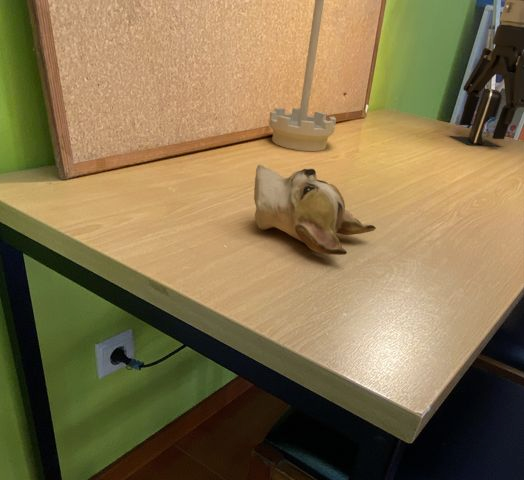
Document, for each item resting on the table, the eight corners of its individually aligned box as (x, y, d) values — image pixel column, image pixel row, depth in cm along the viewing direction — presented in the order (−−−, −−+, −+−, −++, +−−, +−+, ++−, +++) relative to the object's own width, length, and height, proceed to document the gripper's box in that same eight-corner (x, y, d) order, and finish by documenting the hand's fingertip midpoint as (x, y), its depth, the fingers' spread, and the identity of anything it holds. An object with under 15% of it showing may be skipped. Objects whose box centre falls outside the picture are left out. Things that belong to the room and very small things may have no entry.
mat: (499, 146, 121) (500, 146, 121) (468, 145, 118) (468, 144, 118) (479, 137, 127) (479, 137, 127) (449, 136, 125) (449, 135, 125)
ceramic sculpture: (281, 143, 63) (392, 180, 59) (270, 209, 69) (371, 247, 64) (235, 159, 56) (358, 203, 51) (226, 231, 61) (337, 278, 56)
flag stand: (323, 156, 95) (358, -43, 78) (258, 143, 98) (278, -53, 81) (336, 142, 106) (369, -36, 88) (277, 131, 108) (298, -45, 91)
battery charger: (486, 146, 119) (505, 93, 112) (470, 143, 119) (488, 90, 113) (483, 140, 124) (501, 89, 118) (467, 137, 125) (484, 86, 118)
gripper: (468, 19, 116) (439, 118, 129) (542, 29, 98) (500, 144, 110) (494, 22, 119) (464, 120, 131) (572, 33, 100) (528, 146, 112)
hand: (480, 131), depth 121 cm, fingers open, 12 cm apart
